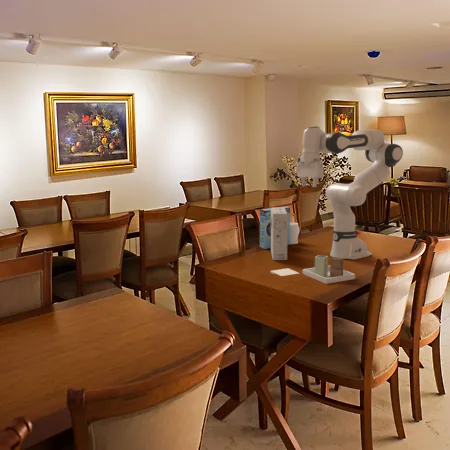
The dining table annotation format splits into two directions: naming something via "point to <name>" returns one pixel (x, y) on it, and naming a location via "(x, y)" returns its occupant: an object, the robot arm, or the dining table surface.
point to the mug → (294, 232)
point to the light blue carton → (266, 227)
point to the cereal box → (279, 233)
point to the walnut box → (336, 266)
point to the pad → (284, 272)
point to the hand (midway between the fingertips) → (309, 186)
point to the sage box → (321, 265)
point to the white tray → (328, 276)
